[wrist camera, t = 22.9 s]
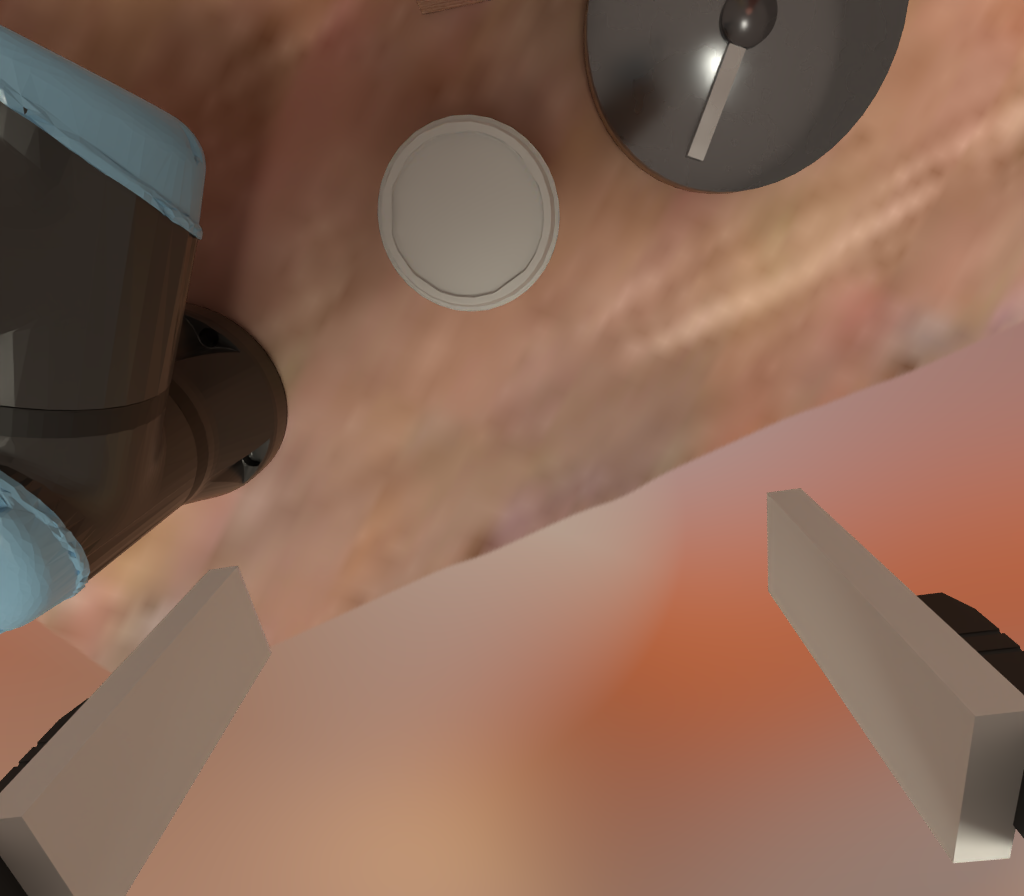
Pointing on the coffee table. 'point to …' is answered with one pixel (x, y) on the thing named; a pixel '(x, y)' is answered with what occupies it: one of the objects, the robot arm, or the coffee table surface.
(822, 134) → the compass
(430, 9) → the grey square frame
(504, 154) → the disposable coffee cup
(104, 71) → the coffee table surface
